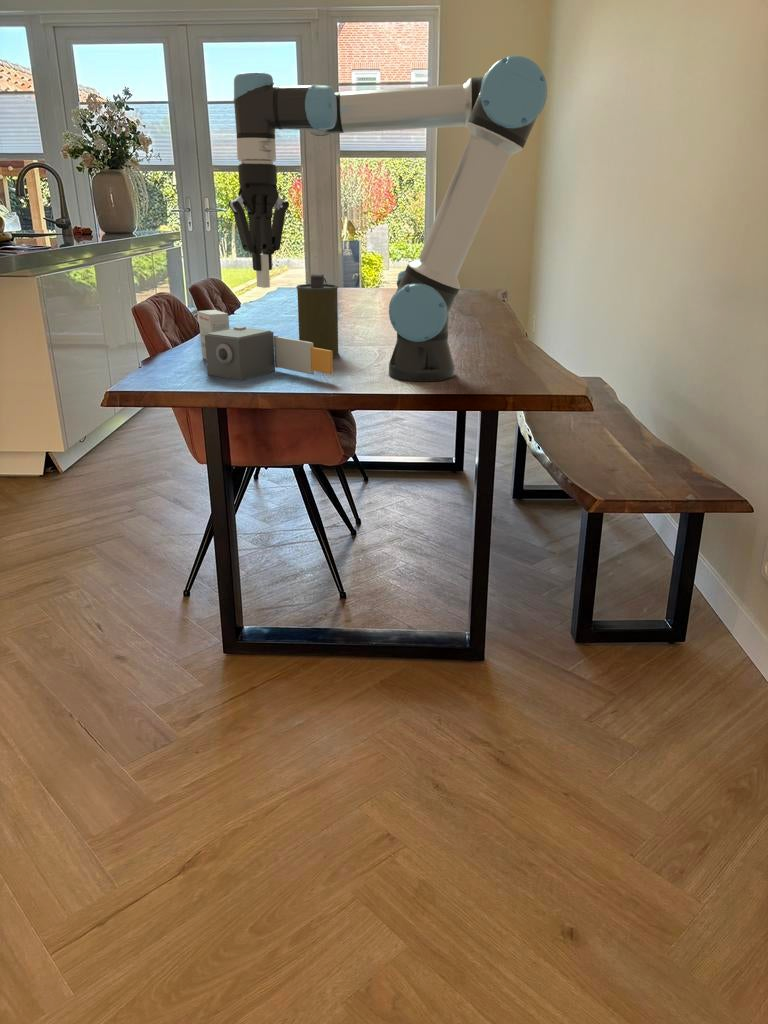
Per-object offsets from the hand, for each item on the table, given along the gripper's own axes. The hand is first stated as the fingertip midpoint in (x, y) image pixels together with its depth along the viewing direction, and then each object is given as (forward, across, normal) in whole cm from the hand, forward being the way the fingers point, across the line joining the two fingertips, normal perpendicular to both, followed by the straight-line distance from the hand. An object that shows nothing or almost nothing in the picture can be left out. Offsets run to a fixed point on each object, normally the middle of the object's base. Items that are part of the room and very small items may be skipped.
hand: (263, 286), depth 160 cm
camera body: (+20, +1, +13) cm, 24 cm away
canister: (+21, +26, +19) cm, 39 cm away
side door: (+20, +10, +1) cm, 22 cm away
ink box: (+21, +3, +30) cm, 36 cm away
